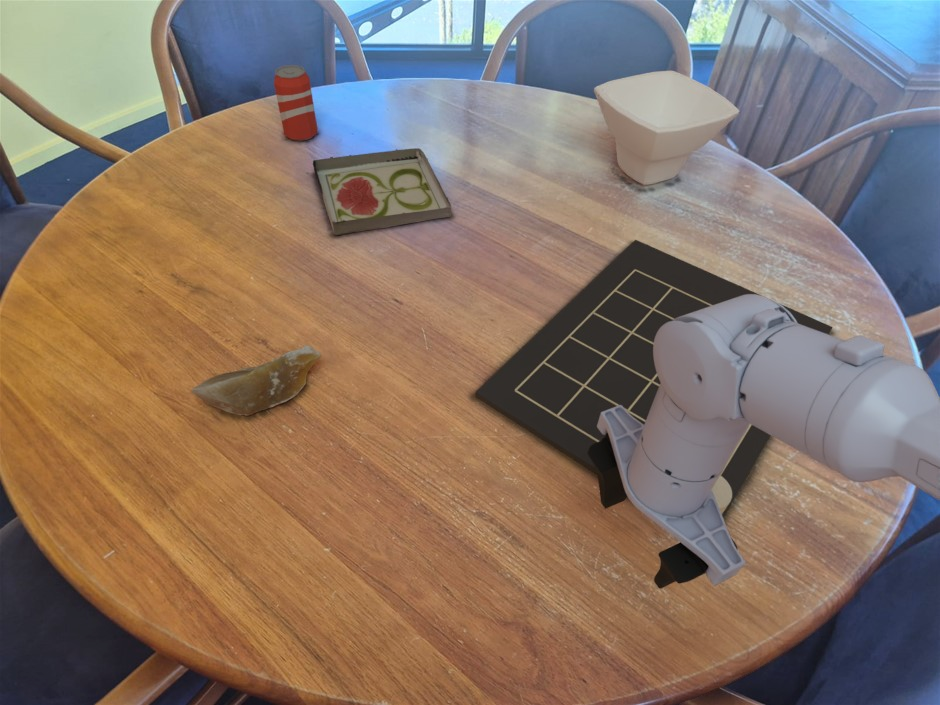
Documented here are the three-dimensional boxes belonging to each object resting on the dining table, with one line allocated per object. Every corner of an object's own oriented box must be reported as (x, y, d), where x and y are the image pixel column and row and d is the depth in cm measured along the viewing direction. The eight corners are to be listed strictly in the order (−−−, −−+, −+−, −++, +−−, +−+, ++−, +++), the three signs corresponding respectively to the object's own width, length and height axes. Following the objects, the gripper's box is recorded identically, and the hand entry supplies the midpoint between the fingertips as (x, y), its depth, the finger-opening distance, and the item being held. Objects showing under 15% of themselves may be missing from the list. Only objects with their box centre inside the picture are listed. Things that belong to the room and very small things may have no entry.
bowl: (571, 161, 114) (584, 85, 104) (655, 139, 120) (674, 66, 110) (634, 214, 102) (654, 135, 92) (723, 187, 109) (751, 110, 99)
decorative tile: (424, 161, 114) (313, 170, 109) (424, 146, 112) (311, 154, 107) (452, 224, 101) (327, 238, 96) (453, 208, 98) (325, 221, 94)
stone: (177, 364, 69) (306, 316, 73) (193, 388, 74) (312, 341, 79) (197, 418, 66) (330, 365, 71) (212, 439, 72) (334, 388, 76)
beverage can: (305, 123, 121) (293, 60, 112) (324, 135, 118) (315, 71, 109) (278, 134, 118) (264, 70, 109) (298, 146, 115) (285, 81, 106)
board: (707, 545, 63) (710, 540, 62) (475, 397, 75) (475, 391, 74) (829, 332, 84) (833, 326, 84) (634, 244, 97) (635, 238, 96)
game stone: (731, 513, 64) (741, 498, 62) (697, 529, 63) (707, 514, 60) (704, 479, 67) (712, 464, 64) (670, 494, 65) (678, 478, 63)
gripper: (809, 512, 39) (735, 598, 48) (665, 355, 47) (628, 455, 57) (720, 556, 36) (661, 637, 46) (587, 384, 45) (562, 482, 55)
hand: (638, 539), depth 52 cm, fingers open, 7 cm apart
